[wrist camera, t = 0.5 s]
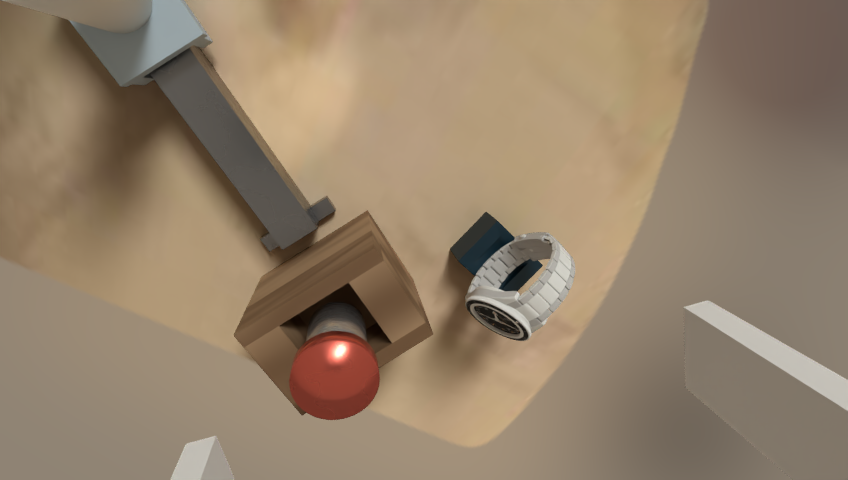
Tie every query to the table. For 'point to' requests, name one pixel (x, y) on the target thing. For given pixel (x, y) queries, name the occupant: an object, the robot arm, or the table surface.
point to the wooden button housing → (333, 299)
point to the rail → (239, 148)
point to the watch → (512, 277)
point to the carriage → (129, 32)
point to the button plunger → (335, 364)
